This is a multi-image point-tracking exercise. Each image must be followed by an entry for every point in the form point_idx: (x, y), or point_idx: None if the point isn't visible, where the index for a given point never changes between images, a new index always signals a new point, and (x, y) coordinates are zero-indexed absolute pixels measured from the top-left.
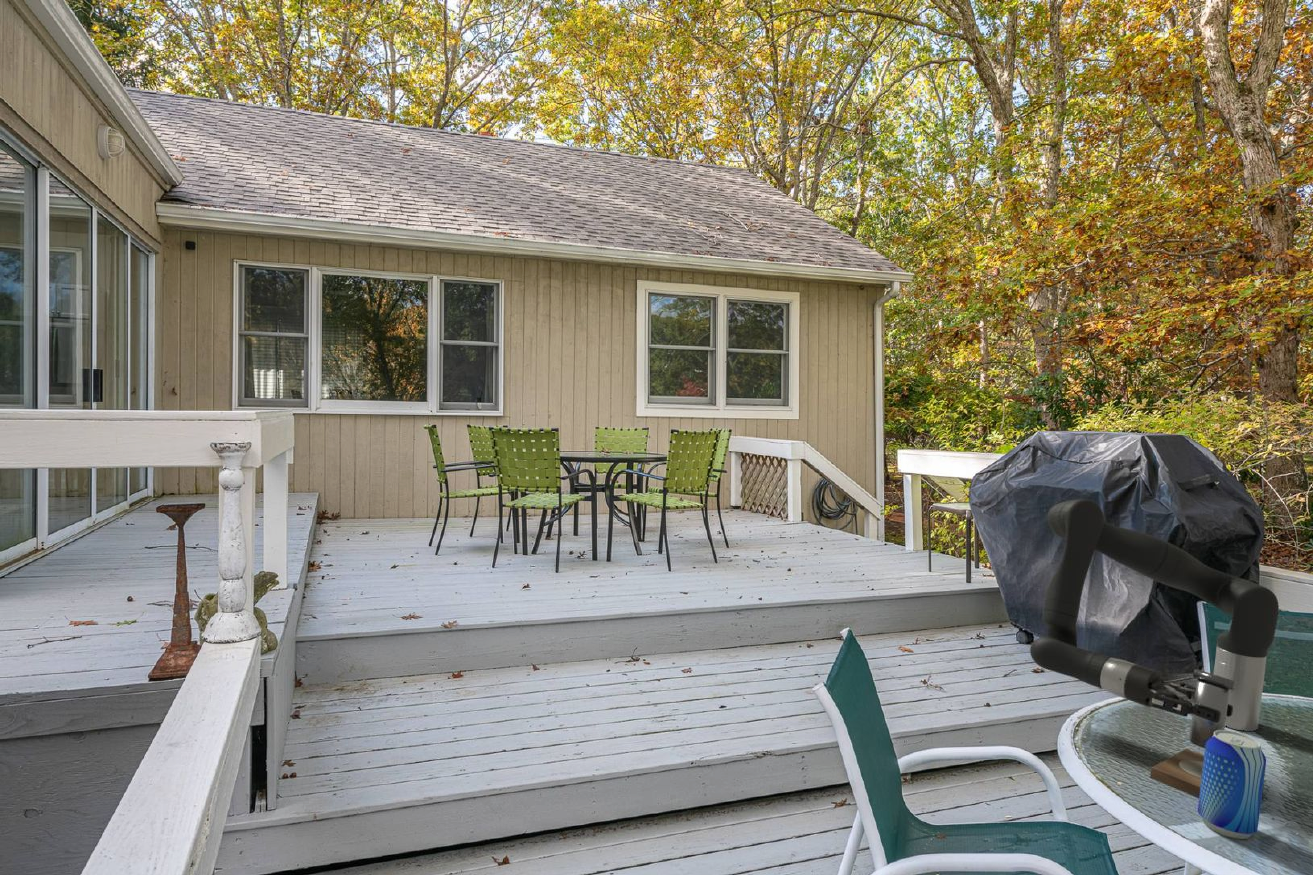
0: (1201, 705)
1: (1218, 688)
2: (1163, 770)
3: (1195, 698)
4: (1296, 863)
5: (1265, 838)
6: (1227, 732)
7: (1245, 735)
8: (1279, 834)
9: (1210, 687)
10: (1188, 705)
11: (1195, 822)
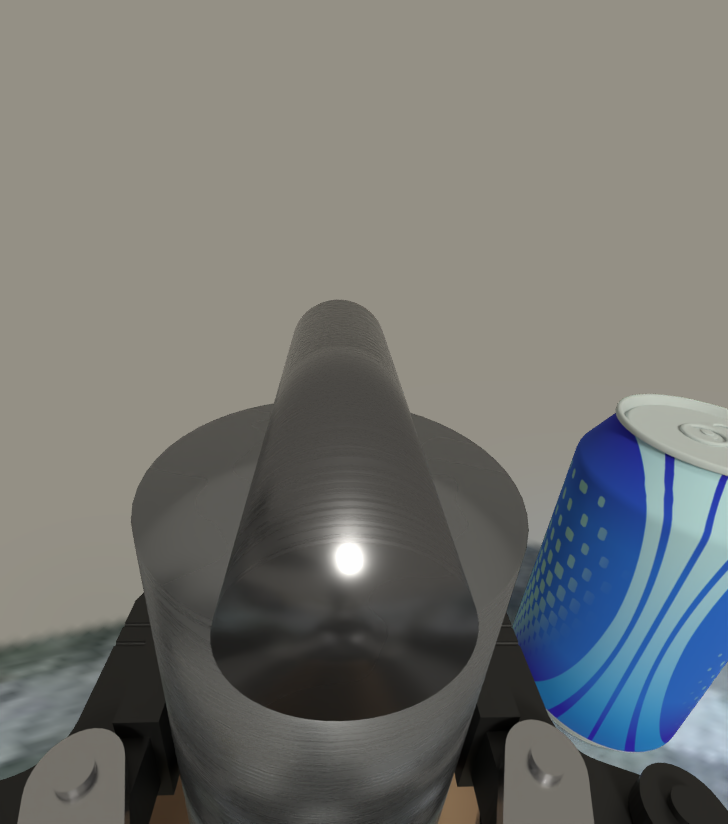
0: (494, 682)
1: (437, 434)
2: None
3: (437, 778)
4: (539, 545)
5: (512, 603)
6: (694, 463)
7: (632, 423)
8: None
9: (500, 472)
10: (662, 769)
11: (681, 748)
